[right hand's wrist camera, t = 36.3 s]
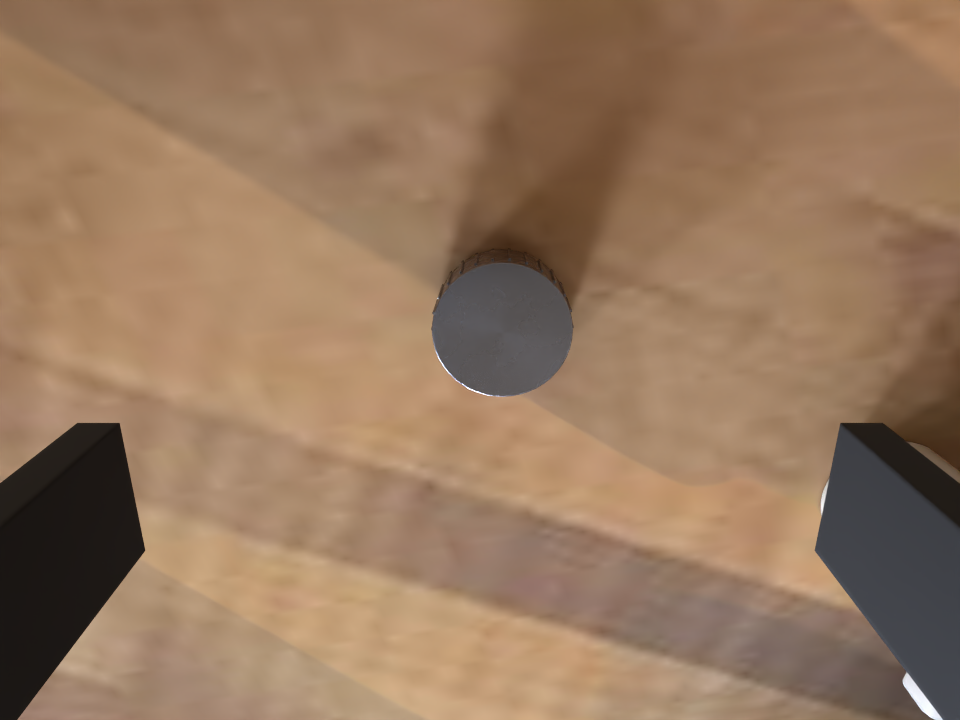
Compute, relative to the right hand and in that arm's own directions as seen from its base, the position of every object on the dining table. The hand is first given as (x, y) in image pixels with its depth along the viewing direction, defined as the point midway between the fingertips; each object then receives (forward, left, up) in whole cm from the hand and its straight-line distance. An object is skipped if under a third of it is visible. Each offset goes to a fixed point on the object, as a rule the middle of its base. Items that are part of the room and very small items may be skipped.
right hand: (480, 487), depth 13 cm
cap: (0, 0, -10) cm, 10 cm away
